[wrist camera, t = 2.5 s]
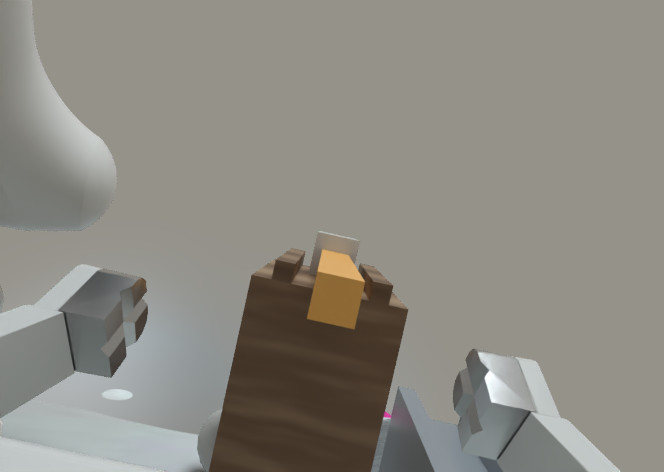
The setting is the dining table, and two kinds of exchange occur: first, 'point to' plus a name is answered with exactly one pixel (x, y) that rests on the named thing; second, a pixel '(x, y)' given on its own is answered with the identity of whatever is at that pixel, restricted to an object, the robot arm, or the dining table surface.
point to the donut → (208, 439)
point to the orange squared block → (335, 281)
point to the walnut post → (307, 377)
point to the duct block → (425, 442)
